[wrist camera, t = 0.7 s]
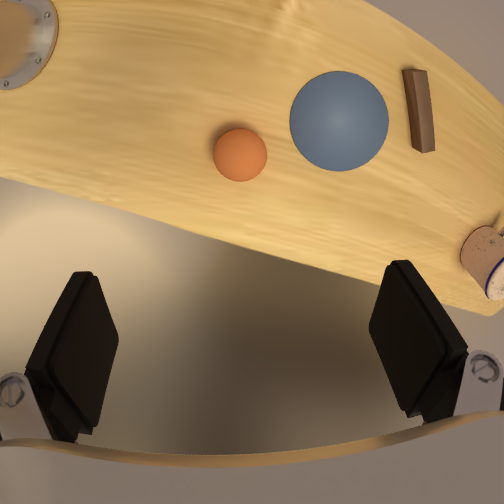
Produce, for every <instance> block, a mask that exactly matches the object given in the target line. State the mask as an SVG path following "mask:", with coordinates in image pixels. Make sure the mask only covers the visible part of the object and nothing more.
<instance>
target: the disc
mask: <svg viewBox="0 0 504 504" xmlns="http://www.w3.org/2000/svg"><path fill="white" fill-rule="evenodd" d="M388 124H389V118H388V111H387V107H386V104H385V101H384V99H383V97H382V95H381V94H380V92H379V91H378V90H377V88H376V87H375V86H374V85H373V84H372V83H370V82H369V81H368V80H366V79H365V78H363V77H361V76H359V75H356V74H353V73H349V72H340V71H336V72H329V73H325V74H322V75H320V76H317V77H316V78H314V79H312V80H311V81H310V82H308V83H307V84H306V85H305V86H304V87H303V88H302V89H301V90H300V92H299V93H298V95H297V96H296V98H295V100H294V103H293V105H292V109H291V113H290V129H291V134H292V137H293V140H294V142H295V145H296V147H297V148H298V150H299V151H300V152H301V154H302V155H303V156H304V157H305V158H306V159H307V160H308V161H310V162H311V163H313V164H314V165H316V166H318V167H320V168H323V169H326V170H330V171H348V170H352V169H355V168H358V167H360V166H362V165H364V164H365V163H367V162H368V161H370V160H371V159H372V158H373V157H374V156H375V155H376V154H377V153H378V151H379V150H380V148H381V147H382V145H383V143H384V141H385V139H386V135H387V132H388Z"/></svg>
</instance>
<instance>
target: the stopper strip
mask: <svg viewBox="0 0 504 504" xmlns="http://www.w3.org/2000/svg"><path fill="white" fill-rule="evenodd" d="M402 74H403V79H404V85H405V91H406V98H407V105H408V112H409V120H410V129H411V138H412V148H414V149H416V150H418V151H419V152H421V153H427V152H431V151H435V139H434V126H433V115H432V106H431V98H430V90H429V83H428V76H427V71H425V70H418V69H411V70H402Z"/></svg>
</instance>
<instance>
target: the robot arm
mask: <svg viewBox="0 0 504 504" xmlns="http://www.w3.org/2000/svg"><path fill="white" fill-rule="evenodd" d="M49 16H50V17H49ZM57 33H58V17H57V13H56V9H55V7H54V5H53V3H52V2H51V1H50V0H5V1H0V89H1V90H10V89H14V88H18V87H20V86H23V85H25V84H27V83H28V82H29V81H31V80H32V79H33V78H34V77H35V76H37V75H38V74H39V73H40V71H41V70H42V69H43V67H44V66H45V65H46V63H47V61H48V60H49V58H50V56H51V54H52V51H53V49H54V47H55V43H56V39H57ZM41 59H42V61H41ZM369 333H370V335H371V338H372V340H373V342H374V345H375V346H376V349H377V352H378V354H379V356H380V359H381V361H382V364H383V366H384V369H385V371H386V374H387V376H388V379H389V381H390V384H391V386H392V389H393V391H394V394H395V397H396V399H397V401H398V404H399V407H400V409H401V410H402V411H405V413H406V415H407V418H411V417H414V416H418V415H422V417H423V420H424V421H423V424H422V426H418V427H414V428H410V429H407V430H403V431H399V432H395V433H391V434H386V435H382V436H378V437H373V438H369V439H364V440H359V441H354V442H348V443H343V444H337V445H331V446H324V447H318V448H310V449H302V450H294V451H285V452H274V453H260V454H242V455H176V454H175V455H174V454H157V453H145V452H134V451H125V450H116V449H108V448H100V447H93V446H86V445H80V444H78V442H77V437H78V433H82V434H89V435H92V431H93V427H96V426H97V425H98V422H99V418H100V414H101V409H102V405H103V400H104V396H105V392H106V388H107V384H108V380H109V376H110V372H111V369H112V365H113V361H114V357H115V354H116V350H117V346H118V342H119V339H118V333H117V330H116V328H115V325H114V323H113V320H112V317H111V314H110V312H109V309H108V306H107V303H106V300H105V297H104V294H103V292H102V289H101V285H100V283H99V279H98V277H97V276H94V275H93V274H92V272H90V271H84V272H83V271H82V272H74V273H73V274H72V276H71V278H70V280H69V281H68V283H67V285H66V287H65V288H64V290H63V292H62V294H61V296H60V298H59V299H58V301H57V303H56V305H55V307H54V309H53V311H52V313H51V315H50V317H49V318H48V320H47V323H46V325H45V326H44V329H43V331H42V333H41V335H40V337H39V339H38V341H37V343H36V345H35V347H34V349H33V352H32V354H31V356H30V358H29V361H28V363H27V365H26V367H25V368H26V370H25V373H24V375H23V374H22V373H18V372H11V373H8V374H5V375H4V376H2V377H1V378H0V504H504V377H503V368H502V365H501V363H500V362H499V360H498V359H497V358H496V357H495V356H494V355H492V354H490V353H488V352H486V351H482V350H476V351H474V352H471V353H470V354H469V353H468V352H467V348H468V346H467V344H466V342H465V341H464V339H463V338H462V336H461V334H460V333H459V331H458V330H457V328H456V327H455V325H454V323H453V322H452V320H451V319H450V317H449V316H448V314H447V313H446V311H445V310H444V308H443V307H442V305H441V304H440V302H439V301H438V299H437V298H436V296H435V295H434V293H433V292H432V291H431V289H430V288H429V286H428V285H427V284H426V282H425V281H424V279H423V278H422V277H421V275H420V274H419V272H418V271H417V270H416V268H415V267H414V266H413V264H412V263H411V262H410V261H409V260H394V261H392V262H391V264H390V265H388V266H387V267H386V269H385V273H384V276H383V280H382V283H381V287H380V290H379V294H378V297H377V300H376V303H375V307H374V310H373V313H372V316H371V319H370V322H369Z"/></svg>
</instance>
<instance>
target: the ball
mask: <svg viewBox="0 0 504 504" xmlns="http://www.w3.org/2000/svg"><path fill="white" fill-rule="evenodd" d="M266 161H267V150H266V146H265V144H264V142H263V140H262V139H261V138H260V137H259V136H258V135H257V134H255V133H254V132H252V131H249V130H245V129H236V130H232V131H229V132H227V133H226V134H224V135H223V136H222V137H221V138H220V139H219V140H218V142H217V144H216V146H215V149H214V162H215V165H216V167H217V169H218V171H219V172H220V173H221V174H222V175H223V176H224V177H226V178H228V179H230V180H233V181H239V182H242V181H248V180H251V179H253V178H254V177H256V176H257V175H258V174H260V172H261V171H262V170H263V169H264V167H265V164H266Z"/></svg>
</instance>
